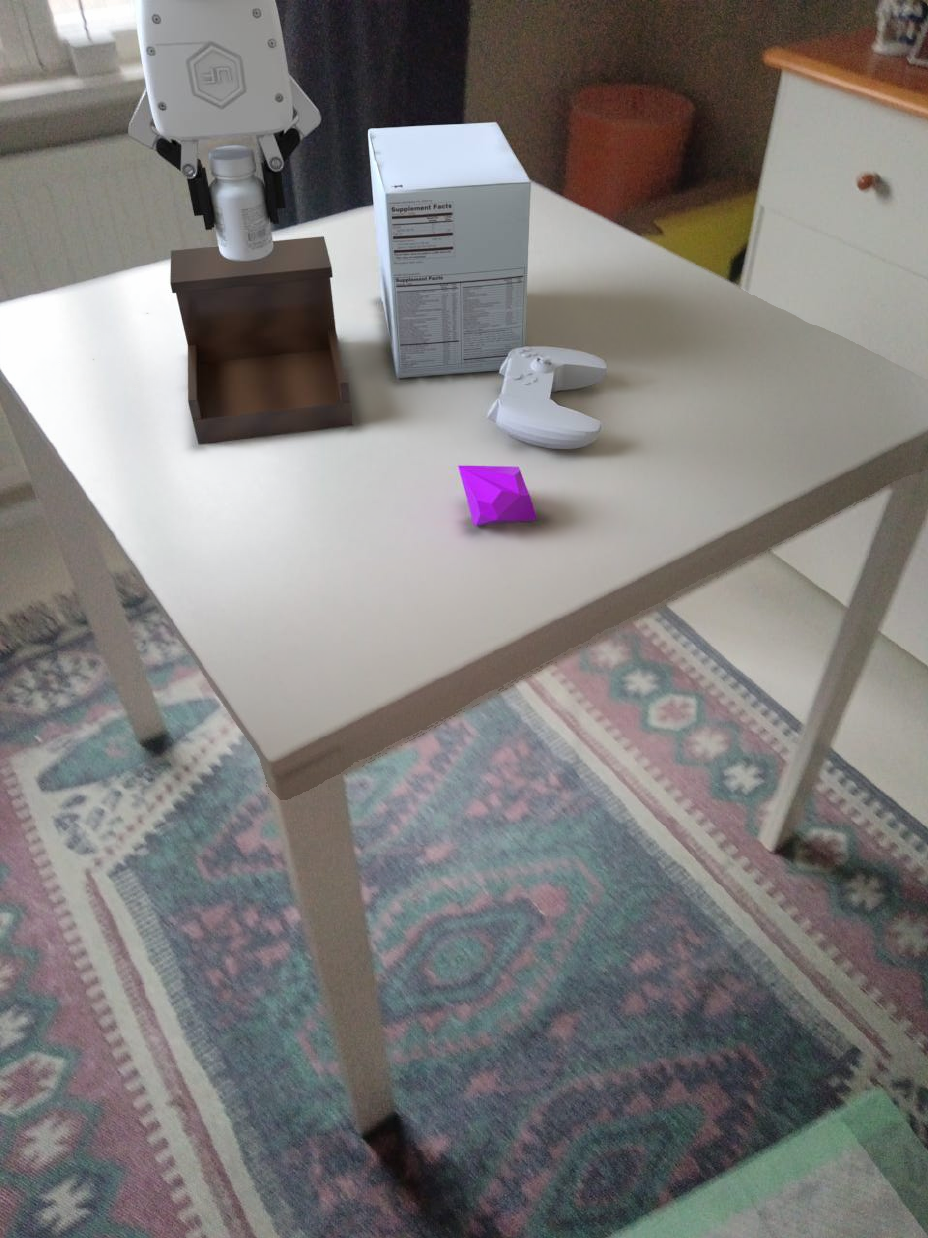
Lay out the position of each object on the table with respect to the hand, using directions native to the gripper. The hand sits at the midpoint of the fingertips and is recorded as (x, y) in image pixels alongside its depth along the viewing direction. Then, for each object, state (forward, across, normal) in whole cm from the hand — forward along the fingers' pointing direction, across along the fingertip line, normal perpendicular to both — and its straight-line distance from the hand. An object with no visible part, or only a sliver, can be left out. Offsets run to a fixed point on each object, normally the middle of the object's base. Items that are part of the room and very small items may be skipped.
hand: (241, 217), depth 79 cm
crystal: (+19, +17, -19) cm, 32 cm away
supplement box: (+19, +19, +12) cm, 29 cm away
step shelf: (+18, 0, +5) cm, 19 cm away
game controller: (+19, +25, -5) cm, 32 cm away
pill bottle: (+3, 0, 0) cm, 3 cm away
